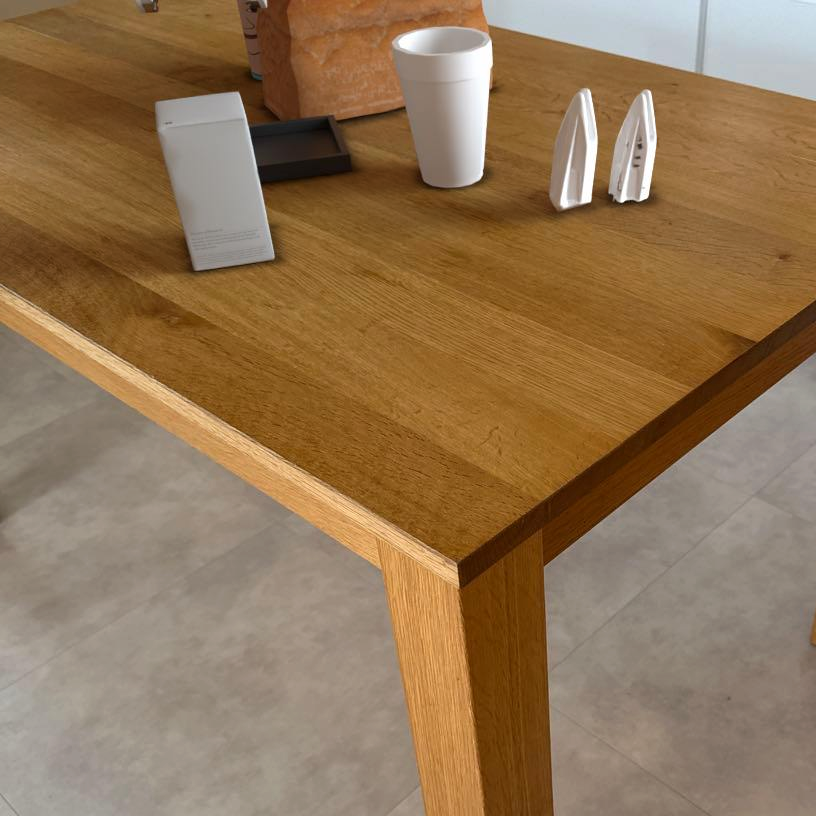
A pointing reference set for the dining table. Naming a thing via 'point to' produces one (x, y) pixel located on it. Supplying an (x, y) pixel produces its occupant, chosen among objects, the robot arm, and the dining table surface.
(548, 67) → the dining table surface
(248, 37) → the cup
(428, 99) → the foam cup
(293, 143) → the black rectangular tray
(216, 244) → the white packaging box
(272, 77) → the bread
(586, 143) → the shaker set
